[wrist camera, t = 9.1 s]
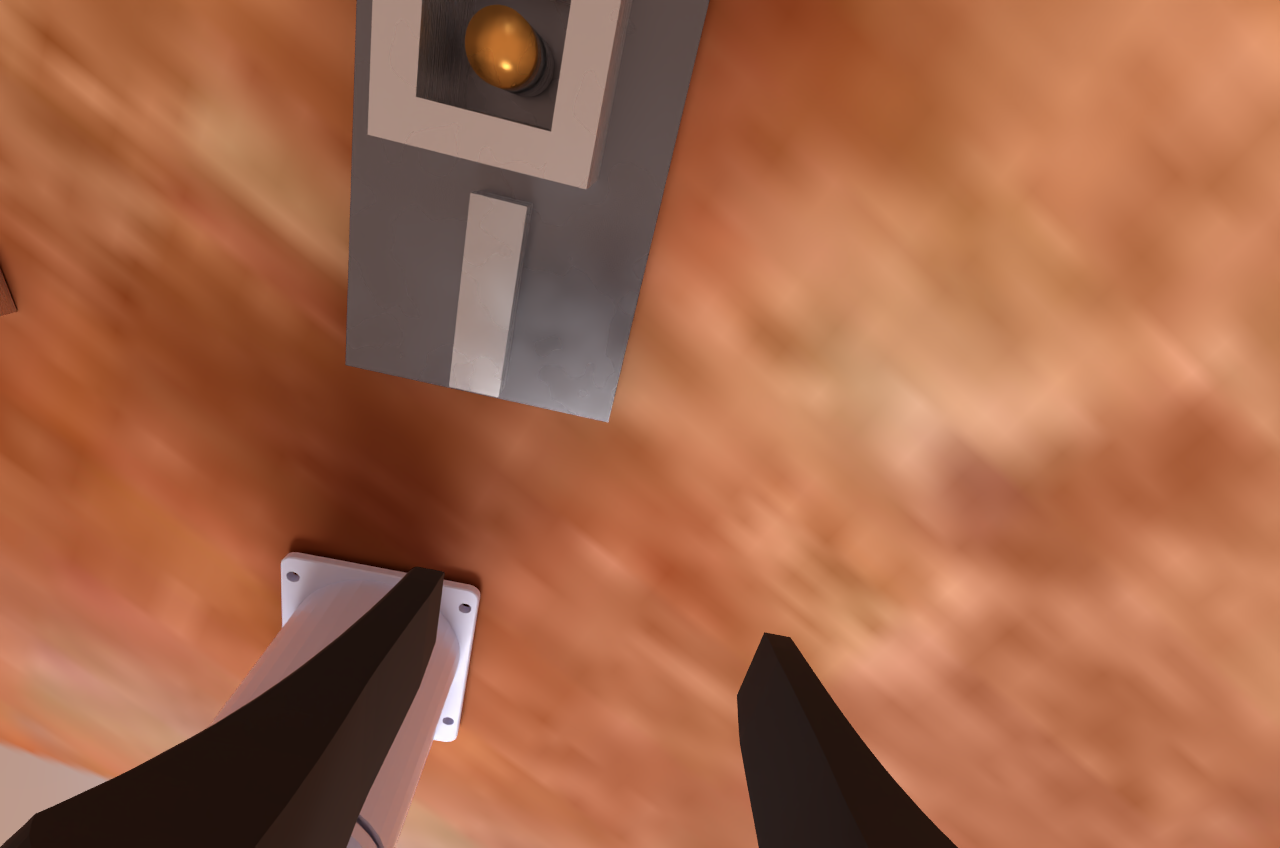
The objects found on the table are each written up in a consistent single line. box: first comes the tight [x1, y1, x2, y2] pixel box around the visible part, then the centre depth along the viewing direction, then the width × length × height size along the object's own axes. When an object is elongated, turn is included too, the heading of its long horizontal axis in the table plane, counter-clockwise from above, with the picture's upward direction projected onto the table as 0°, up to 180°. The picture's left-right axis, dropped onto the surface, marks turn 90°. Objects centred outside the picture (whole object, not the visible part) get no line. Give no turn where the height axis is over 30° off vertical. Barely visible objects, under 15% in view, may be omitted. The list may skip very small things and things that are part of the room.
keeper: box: [346, 0, 709, 422], centre depth 17 cm, size 14×9×4 cm, turn 167°
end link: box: [368, 0, 632, 189], centre depth 14 cm, size 5×5×4 cm
